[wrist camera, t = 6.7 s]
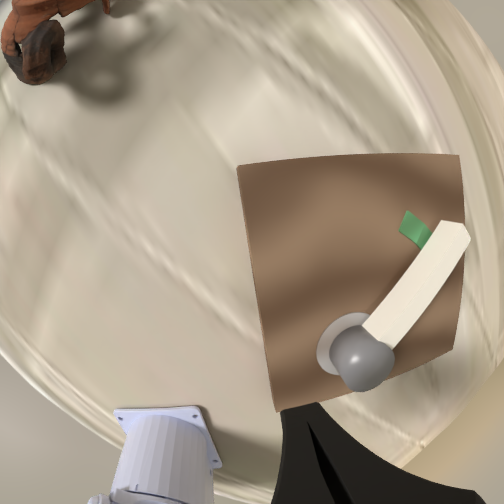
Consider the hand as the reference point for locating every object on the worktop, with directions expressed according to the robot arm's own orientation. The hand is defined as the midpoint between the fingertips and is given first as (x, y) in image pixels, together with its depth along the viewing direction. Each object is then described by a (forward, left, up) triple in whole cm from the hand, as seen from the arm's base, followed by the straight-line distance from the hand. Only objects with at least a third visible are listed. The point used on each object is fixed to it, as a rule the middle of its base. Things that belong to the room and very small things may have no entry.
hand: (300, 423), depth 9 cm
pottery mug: (+24, +13, -11) cm, 29 cm away
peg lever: (0, -9, -8) cm, 13 cm away
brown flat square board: (+1, -9, -10) cm, 14 cm away
